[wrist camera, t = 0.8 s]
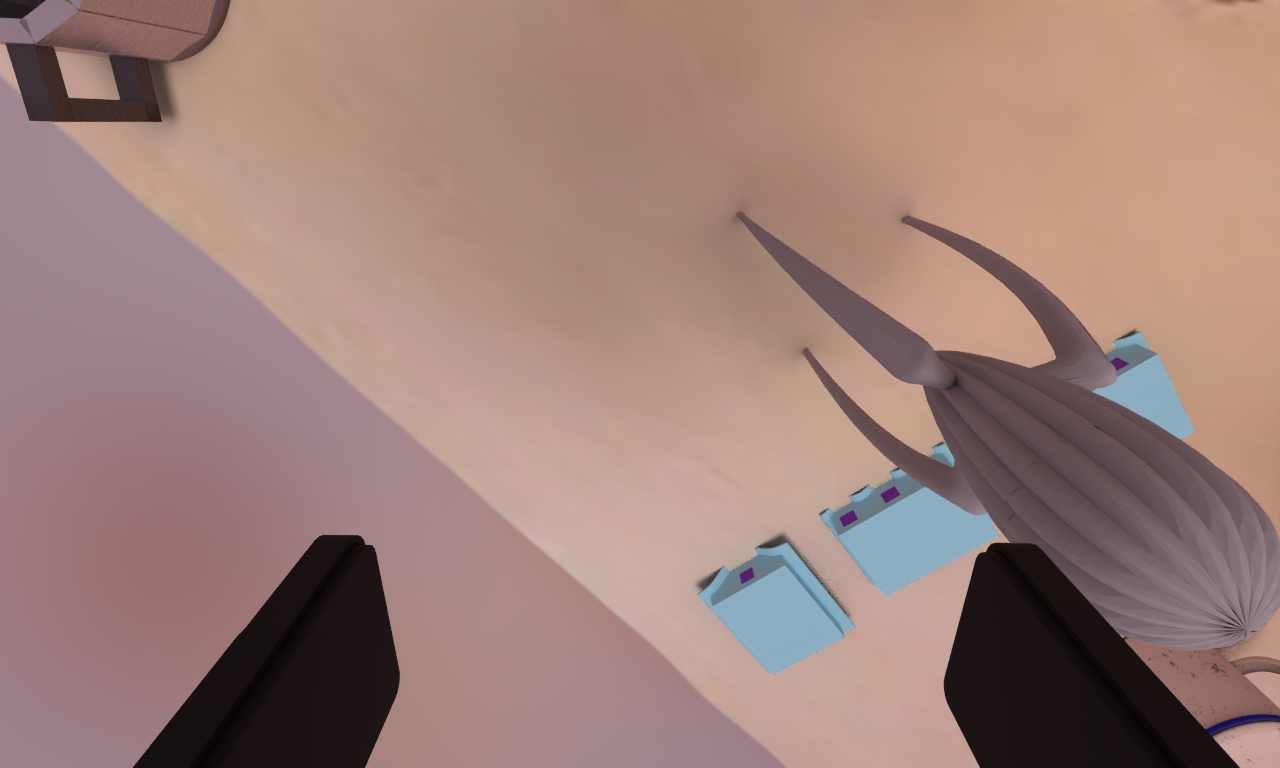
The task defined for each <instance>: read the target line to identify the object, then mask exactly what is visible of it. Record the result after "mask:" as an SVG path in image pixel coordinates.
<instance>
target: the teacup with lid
mask: <svg viewBox="0 0 1280 768" xmlns="http://www.w3.org/2000/svg"><path fill="white" fill-rule="evenodd" d="M1124 640H1125V642H1126V643H1127V644H1128V645H1129V646H1130V647H1131V648H1132V649H1133V650H1134V651H1135V653H1136V654H1137V655H1138V656H1139V657H1140V658H1141V659H1142V660H1143V661H1144V662H1145V664H1146V665H1147V666H1148V667H1149V668H1150V669H1151V670H1152V671H1153V672H1154V673H1155V674H1156V676H1157V677H1158V678H1159V679H1160V680H1161V681H1162V682H1163V683H1164V684H1165V685H1166V687H1167V688H1168V689H1169V690H1170V691H1171V692H1172V693H1173V694H1174V695H1175V696H1176V698H1177V699H1178V700H1179V701H1180V702H1181V703H1182V704H1183V705H1184V706H1185V707H1186V709H1187V710H1188V711H1189V712H1190V713H1191V714H1192V715H1193V716H1194V717H1195V718H1196V720H1197V721H1198V722H1199V723H1200V724H1201V725H1202V726H1203V727H1204V728H1205V729H1206V731H1207V732H1208V733H1209V734H1210V735H1211V736H1212V737H1213V738H1214V739H1215V740H1216V742H1217V743H1218V744H1219V745H1220V746H1221V747H1222V748H1223V749H1224V750H1225V751H1226V753H1227V754H1228V755H1229V756H1230V757H1231V758H1232V759H1233V760H1234V761H1235V762H1236V763H1237V765H1238V766H1239V767H1240V768H1280V709H1279V708H1278V707H1277V706H1276V705H1275V704H1274V703H1273V702H1272V701H1271V700H1270V699H1269V698H1268V697H1267V696H1265V695H1264V694H1263V693H1262V692H1261V691H1260V690H1259V689H1258V688H1257V687H1256V686H1255V685H1254V684H1253V683H1251V682H1250V681H1249V680H1248V679H1247V678H1246V677H1245V676H1244V675H1245V674H1248V673H1252V672H1258V671H1266V672H1272V673H1276V674H1280V660H1277V659H1273V658H1268V657H1259V656H1254V657H1246V658H1241V659H1238V660H1235V661H1232V662H1229V661H1228V660H1227V659H1226V658H1225V657H1223V656H1222V655H1221V654H1220V653H1219V652H1218V651H1217V650H1216V649H1215V648H1211V649H1205V650H1197V651H1187V650H1176V649H1172V648H1169V647H1165V646H1157V645H1149V644H1146V643H1142V642H1139V641H1135V640H1132V639H1130V638H1126V639H1124Z"/></svg>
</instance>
